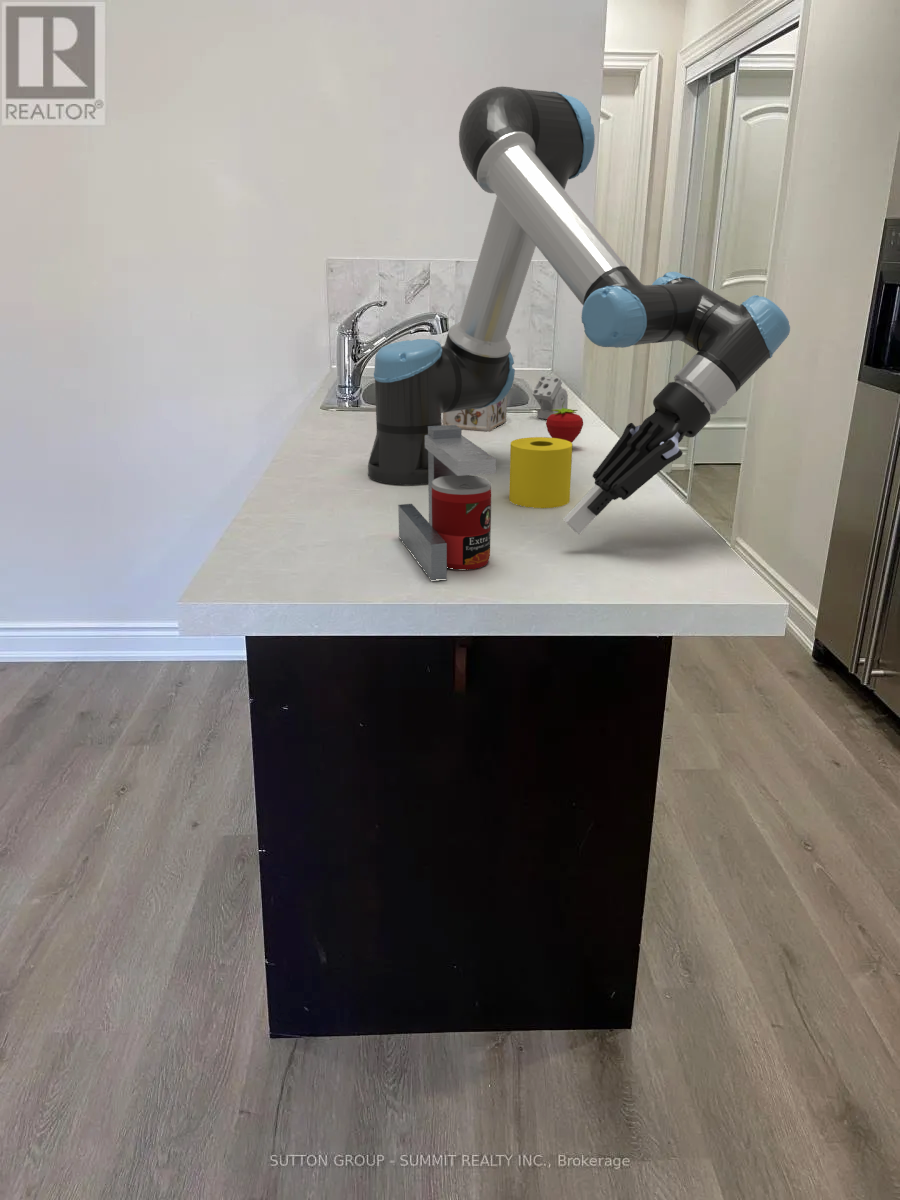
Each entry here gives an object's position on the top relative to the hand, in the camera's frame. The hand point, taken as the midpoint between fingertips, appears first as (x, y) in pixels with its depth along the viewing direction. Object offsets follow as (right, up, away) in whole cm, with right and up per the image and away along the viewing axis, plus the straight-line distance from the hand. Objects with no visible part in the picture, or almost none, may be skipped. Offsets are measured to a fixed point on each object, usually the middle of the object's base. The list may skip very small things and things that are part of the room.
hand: (571, 526), depth 124 cm
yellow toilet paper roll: (-2, +6, +26) cm, 27 cm away
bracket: (-17, -4, +1) cm, 17 cm away
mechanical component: (+7, +33, +91) cm, 97 cm away
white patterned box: (-11, +30, +84) cm, 90 cm away
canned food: (-15, -5, -2) cm, 16 cm away
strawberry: (+7, +20, +61) cm, 64 cm away
